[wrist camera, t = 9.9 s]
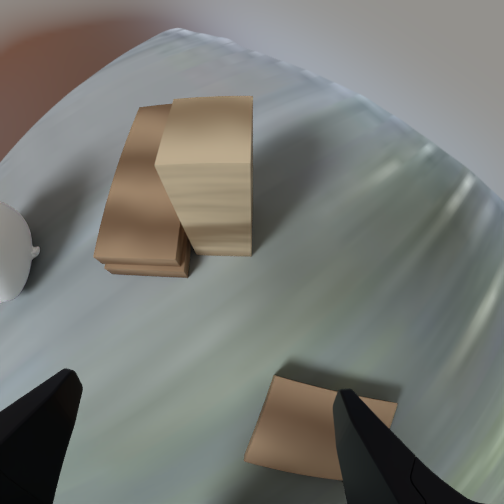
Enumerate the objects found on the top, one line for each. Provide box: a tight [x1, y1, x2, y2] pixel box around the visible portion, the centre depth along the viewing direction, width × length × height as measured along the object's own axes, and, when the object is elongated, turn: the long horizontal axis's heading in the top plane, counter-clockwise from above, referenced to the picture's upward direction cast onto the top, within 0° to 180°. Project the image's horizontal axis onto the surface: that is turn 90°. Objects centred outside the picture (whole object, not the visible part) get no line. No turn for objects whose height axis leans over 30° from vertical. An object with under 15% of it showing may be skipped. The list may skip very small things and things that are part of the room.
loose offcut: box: [244, 375, 398, 480], centre depth 18 cm, size 7×10×2 cm
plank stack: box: [94, 104, 191, 278], centre depth 25 cm, size 17×7×3 cm, turn 179°
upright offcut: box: [154, 96, 253, 256], centre depth 19 cm, size 5×4×12 cm
